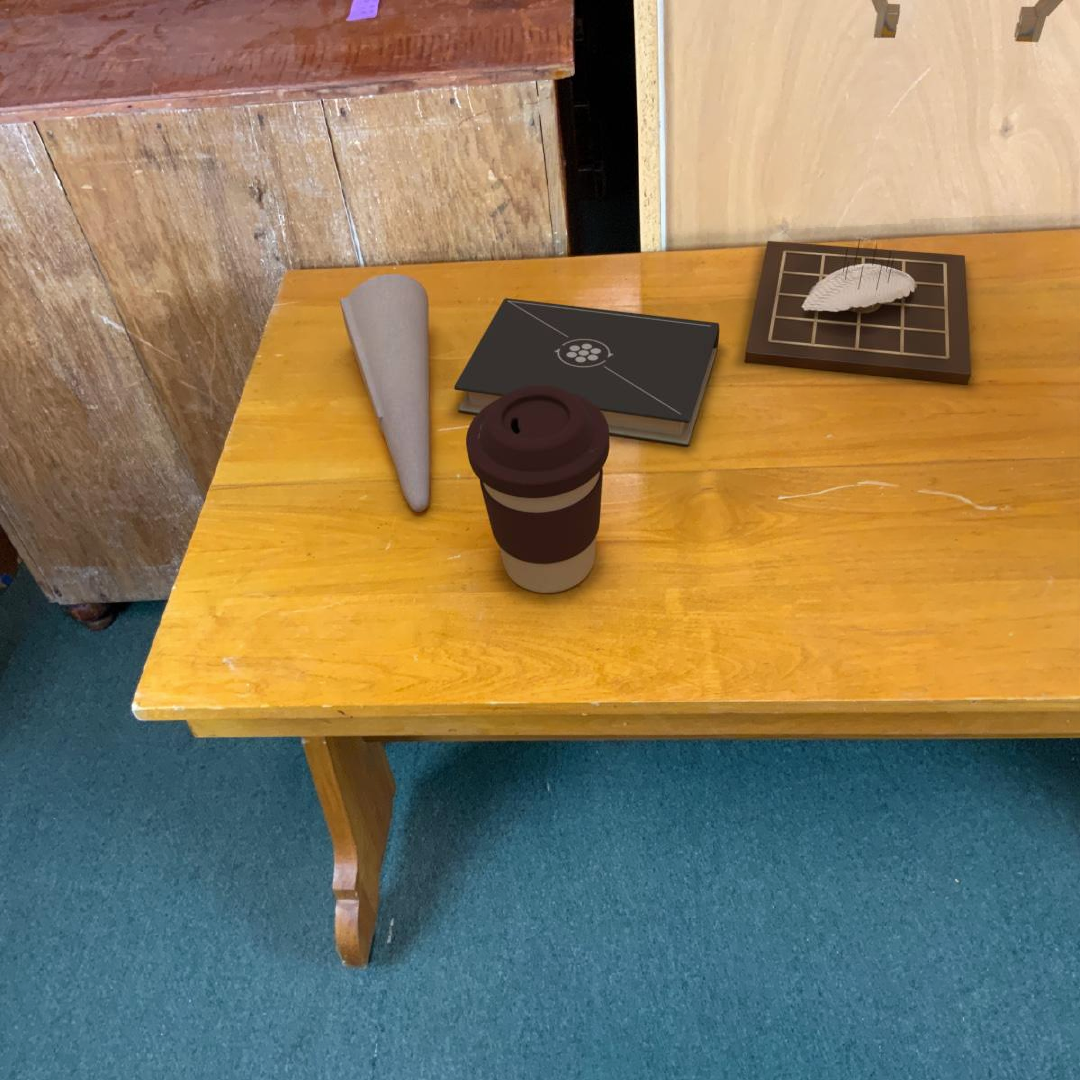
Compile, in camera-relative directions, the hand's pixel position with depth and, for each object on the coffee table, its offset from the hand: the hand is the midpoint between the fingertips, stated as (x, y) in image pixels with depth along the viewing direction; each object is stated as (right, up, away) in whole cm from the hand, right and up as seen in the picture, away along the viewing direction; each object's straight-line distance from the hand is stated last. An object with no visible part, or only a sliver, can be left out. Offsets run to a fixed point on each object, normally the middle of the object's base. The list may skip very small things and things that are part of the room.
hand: (953, 37), depth 68 cm
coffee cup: (-28, -37, +8) cm, 48 cm away
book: (-24, -20, +23) cm, 39 cm away
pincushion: (+2, -12, +27) cm, 29 cm away
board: (+2, -13, +28) cm, 31 cm away
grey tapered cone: (-40, -24, +22) cm, 52 cm away
